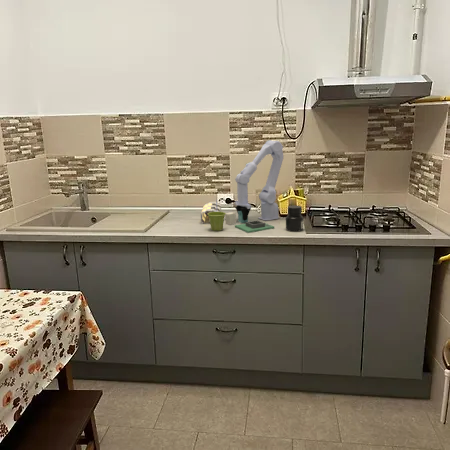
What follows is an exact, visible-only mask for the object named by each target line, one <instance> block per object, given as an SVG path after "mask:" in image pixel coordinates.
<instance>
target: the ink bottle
mask: <svg viewBox="0 0 450 450" xmlns="http://www.w3.org/2000/svg"><path fill="white" fill-rule="evenodd" d="M285 230H286V231H288V232H301V231H303V230H304V216H303V215H302V206H301V205H289V206H288V207H287V216H285Z"/></svg>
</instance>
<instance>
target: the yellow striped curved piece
mask: <svg viewBox="0 0 450 450" xmlns="http://www.w3.org/2000/svg"><path fill="white" fill-rule="evenodd" d="M210 212H222V204H221V203H220V202H218V199H216V200H215V201H209V202H208V203H205V204H204V205H203V208H202V209H201V213H200V222H201V223H202V224H203V225H204V224H205V222H204V221H206V218H207V216H208V213H210Z"/></svg>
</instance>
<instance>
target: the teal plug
mask: <svg viewBox="0 0 450 450" xmlns="http://www.w3.org/2000/svg"><path fill="white" fill-rule="evenodd" d="M237 221H238V222H239V223H240V224H245V222H249V217H248V218H247V220H243V215H242V211H238V212H237Z"/></svg>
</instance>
